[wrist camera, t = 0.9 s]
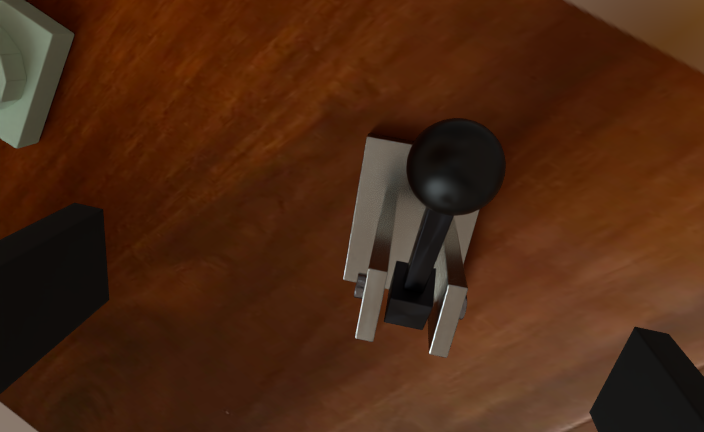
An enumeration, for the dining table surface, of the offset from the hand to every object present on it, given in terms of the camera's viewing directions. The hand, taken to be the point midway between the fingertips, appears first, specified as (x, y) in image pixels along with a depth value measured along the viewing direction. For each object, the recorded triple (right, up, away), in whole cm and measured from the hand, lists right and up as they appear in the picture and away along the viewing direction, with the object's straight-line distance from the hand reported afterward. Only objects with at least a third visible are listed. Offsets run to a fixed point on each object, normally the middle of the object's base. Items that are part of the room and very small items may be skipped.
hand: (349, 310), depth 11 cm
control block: (-26, +14, +23) cm, 38 cm away
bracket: (+5, +2, +23) cm, 24 cm away
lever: (+4, +3, +10) cm, 11 cm away
